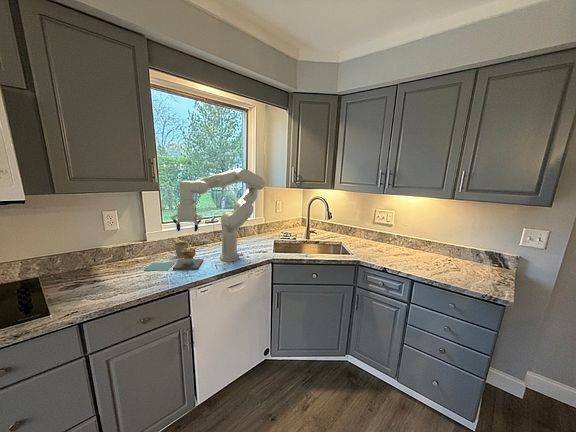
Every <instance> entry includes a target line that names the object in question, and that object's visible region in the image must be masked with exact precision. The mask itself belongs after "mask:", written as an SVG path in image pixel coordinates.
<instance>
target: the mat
mask: <svg viewBox="0 0 576 432" xmlns="http://www.w3.org/2000/svg"><path fill="white" fill-rule="evenodd" d="M175 264H176V263H175V262H174V261H173V262H172V261H171V262H164V261H163V262H161V261H160V262H159V261H158V262H151V263H150V264H149V265H148V266H147V267H146V268H145V269H143V272H156V271H157V272H163V271H164V272H165V271H167V272H168V271H169V270H170V269H171V268H173V267H174V266H173V265H175Z"/></svg>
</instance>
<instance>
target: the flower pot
mask: <svg viewBox="0 0 576 432" xmlns="http://www.w3.org/2000/svg"><path fill="white" fill-rule="evenodd" d="M173 247H174V249H175V254H176V258H181V251H182V250H183V249H184V248H189V242H188V241H179V242H175V243H173Z"/></svg>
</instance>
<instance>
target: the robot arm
mask: <svg viewBox="0 0 576 432" xmlns="http://www.w3.org/2000/svg"><path fill="white" fill-rule="evenodd" d="M238 183H244V184H245V185H246V186H245V187H246V190H245V192H244V194H243V195H242V196H241V197H240V198H238V200H237V201H236V202H235V203H234V204H233V211H234V212H233V211H225V212H223V213H222V215H221V217H220V224H221V226H220V227H221V255H220V256H219V260H220V261H222V262H228V263H229V262H236V261H238V260H239V259H240V257H244V253H243V252H238V251H239V250H238V248H237V247H238V243H237V242H238V231H237V230H238V229H239V228H240V227H242V226H243V225H244V224H245V222H246V221H247V220H248V219H249V218H250V217H251V216H252V214H253V212H254V205H253V204H254V203H255V201H256V200H257V198H258V192H259V191H260V190H263V188H264V187H265V185H266V182H265V180H264V178H263V177H261V176H259V175H258V174H256V173H255V172H253V171H251V170H249V169H247V168H235V169H231V170H228V171H224V172H221V173H218V174H217V173H216V174H214V175H211V176H210V175H209V176H206V177H203V178H199V179H195V180H194V181H193V180H192V181H191V180H180V181H179V184H178V186H179V188H178V189H179V204H178V206H177V214H174V215H173V216H172V215H171V220H172V222H173V223H174V224H175V226H176V231H177V232H180V231H181V222H184V223H187V222H188V223H189V222H190V223H194V232H195V233H196V232H197V231H198V230H199V224H200V223H201V222H202V220H203V218H204V217H203V216H201V215H199V214H197V206H196V204H197V200H195V198H194V197H195V196H194V194H198V195H204V194H206V193H207V192H208V191H209V189H215V188H225V187H228V186H231V185H235V184H238ZM176 218H177V219H176ZM197 219H198V220H197Z"/></svg>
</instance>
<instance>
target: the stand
mask: <svg viewBox="0 0 576 432" xmlns="http://www.w3.org/2000/svg"><path fill="white" fill-rule="evenodd" d="M190 248H191V247H188V248H187V251H190ZM203 263H204V259H203V258H198V259H197V258H194V257H193V258H180V259H179V260H178V261H177V262H176V263H175V264H174V266H172V271H198V270H199V269H200V267H201V266H202V264H203Z"/></svg>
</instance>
